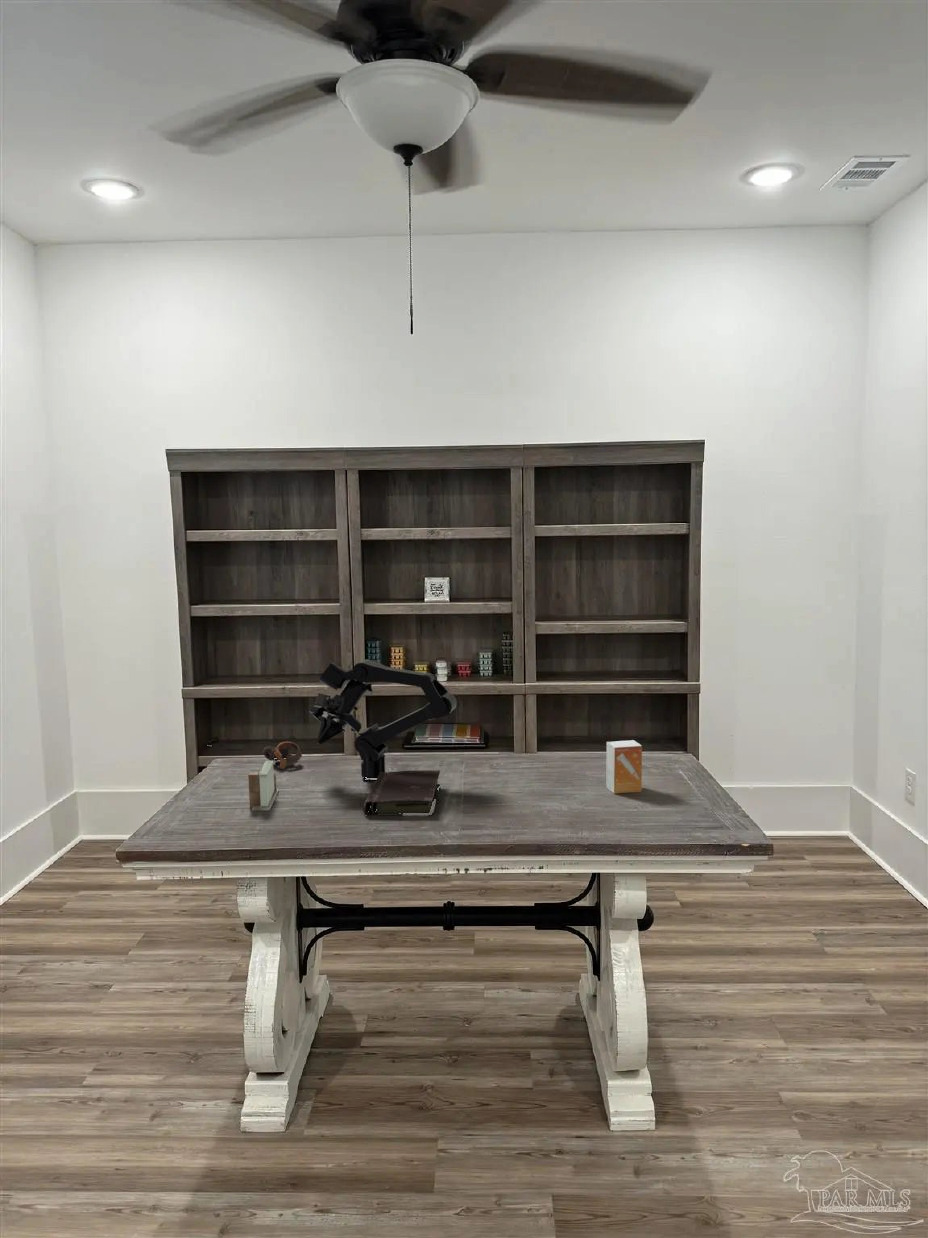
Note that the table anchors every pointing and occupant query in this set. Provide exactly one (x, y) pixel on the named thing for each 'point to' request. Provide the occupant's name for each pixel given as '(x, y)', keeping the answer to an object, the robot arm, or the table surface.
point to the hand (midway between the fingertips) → (318, 743)
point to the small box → (624, 766)
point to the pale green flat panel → (266, 783)
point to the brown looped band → (283, 754)
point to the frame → (255, 792)
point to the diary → (403, 792)
